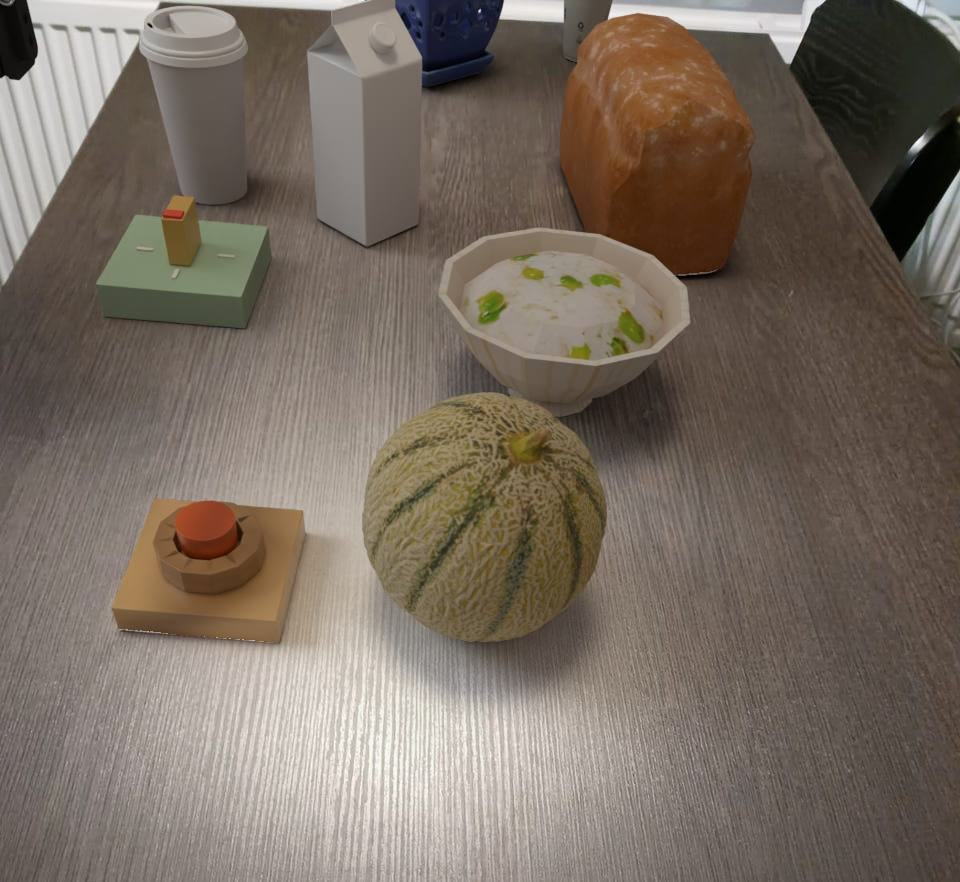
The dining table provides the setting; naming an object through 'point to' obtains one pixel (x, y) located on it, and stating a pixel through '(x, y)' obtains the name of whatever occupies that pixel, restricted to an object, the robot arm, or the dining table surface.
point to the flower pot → (451, 35)
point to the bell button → (206, 530)
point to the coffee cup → (200, 97)
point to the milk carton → (366, 122)
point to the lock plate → (186, 275)
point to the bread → (656, 143)
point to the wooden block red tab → (181, 230)
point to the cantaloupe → (484, 517)
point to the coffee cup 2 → (581, 22)
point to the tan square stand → (213, 577)
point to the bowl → (562, 312)
